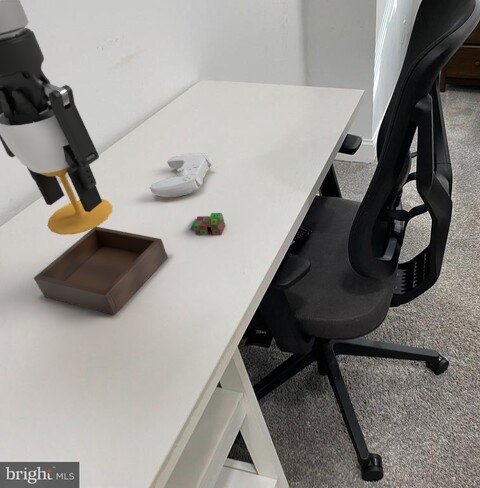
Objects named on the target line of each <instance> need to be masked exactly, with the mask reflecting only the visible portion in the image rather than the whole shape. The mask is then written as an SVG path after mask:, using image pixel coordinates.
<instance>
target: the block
mask: <svg viewBox="0 0 480 488" xmlns="http://www.w3.org/2000/svg"><path fill="white" fill-rule="evenodd" d="M223 215H224V214H223V212H211V213H210V215H209V216H208V215H207V216H206V215H205V216H204V215H199V216H196V218H195V219H194V220H193V222H192V224H191V226H190V231H194V234H195V235H196V236H208V235H210V233H209V229H208V228H210V230H211V234H212V235H213V236H215V235H216V236H217V235H218V236H219V235H220V236H222V234H223V232H224V229H225V226H226V223H225V219H224V216H223Z"/></svg>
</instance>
